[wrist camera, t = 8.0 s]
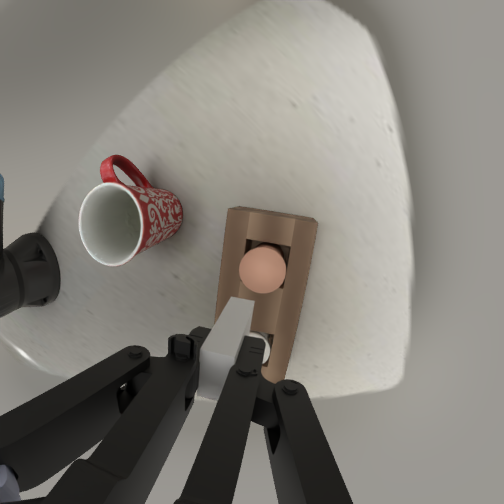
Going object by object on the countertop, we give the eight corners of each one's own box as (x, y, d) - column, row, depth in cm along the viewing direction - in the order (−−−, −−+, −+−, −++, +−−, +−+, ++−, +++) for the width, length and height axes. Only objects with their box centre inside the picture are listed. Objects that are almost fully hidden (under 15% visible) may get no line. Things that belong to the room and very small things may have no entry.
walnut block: (221, 348, 43) (209, 373, 36) (239, 206, 38) (227, 208, 31) (284, 360, 42) (282, 387, 35) (313, 218, 37) (317, 223, 30)
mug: (196, 238, 40) (152, 259, 27) (142, 249, 42) (88, 272, 28) (178, 153, 38) (128, 137, 25) (126, 170, 40) (68, 165, 26)
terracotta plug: (246, 272, 36) (236, 288, 30) (251, 235, 35) (242, 244, 29) (283, 279, 36) (281, 297, 29) (290, 241, 35) (289, 252, 28)
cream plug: (238, 338, 41) (229, 362, 34) (242, 309, 40) (233, 330, 33) (270, 344, 40) (266, 369, 34) (276, 315, 39) (272, 338, 33)
